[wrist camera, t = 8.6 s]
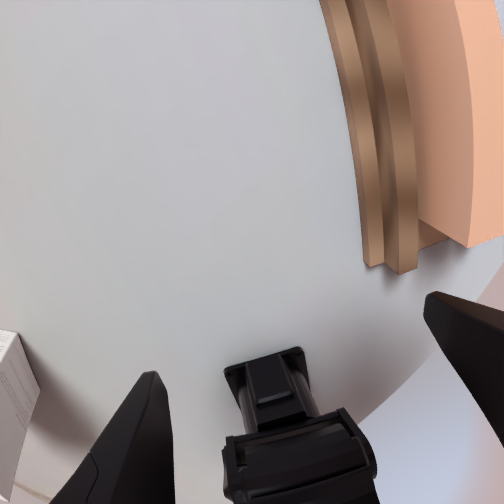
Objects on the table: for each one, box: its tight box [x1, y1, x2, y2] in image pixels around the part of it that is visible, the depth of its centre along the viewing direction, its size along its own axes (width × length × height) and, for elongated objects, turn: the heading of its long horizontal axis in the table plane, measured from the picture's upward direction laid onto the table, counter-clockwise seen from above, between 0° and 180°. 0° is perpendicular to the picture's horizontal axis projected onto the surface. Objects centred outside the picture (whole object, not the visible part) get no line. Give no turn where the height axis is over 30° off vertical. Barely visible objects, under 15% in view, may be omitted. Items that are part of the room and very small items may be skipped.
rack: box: [319, 0, 450, 275], centre depth 17 cm, size 22×12×3 cm, turn 13°
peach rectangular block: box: [387, 0, 504, 248], centre depth 14 cm, size 16×4×6 cm, turn 10°
